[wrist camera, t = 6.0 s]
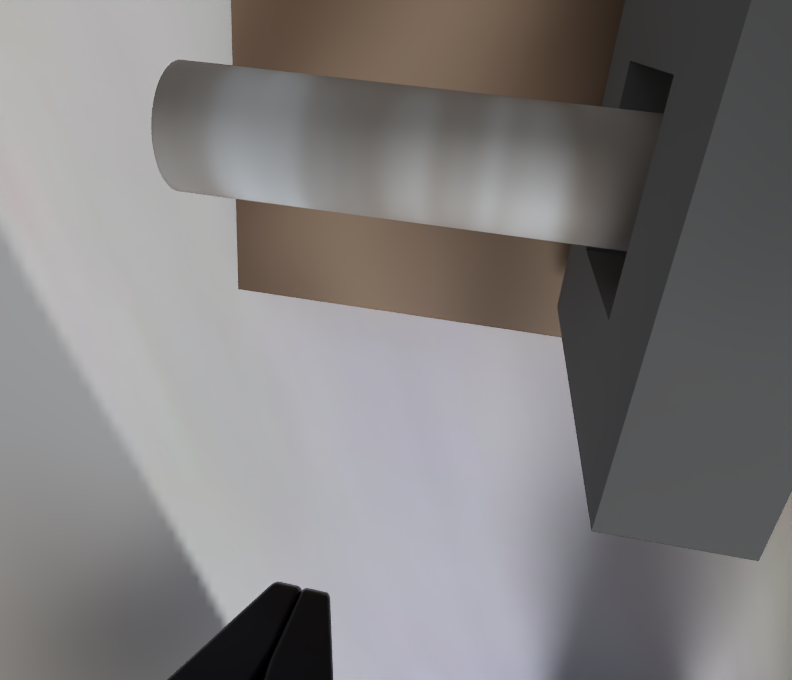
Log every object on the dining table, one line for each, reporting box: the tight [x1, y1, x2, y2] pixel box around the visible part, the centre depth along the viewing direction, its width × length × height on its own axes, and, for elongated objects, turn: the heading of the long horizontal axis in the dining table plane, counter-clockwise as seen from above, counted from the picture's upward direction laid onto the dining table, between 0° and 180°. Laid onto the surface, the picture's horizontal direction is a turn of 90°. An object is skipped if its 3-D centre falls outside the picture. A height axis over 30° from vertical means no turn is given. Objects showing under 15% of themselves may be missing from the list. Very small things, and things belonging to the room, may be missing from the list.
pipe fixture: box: [152, 0, 664, 337], centre depth 12 cm, size 17×11×10 cm, turn 85°
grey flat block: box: [557, 0, 792, 561], centre depth 11 cm, size 2×9×9 cm, turn 175°
